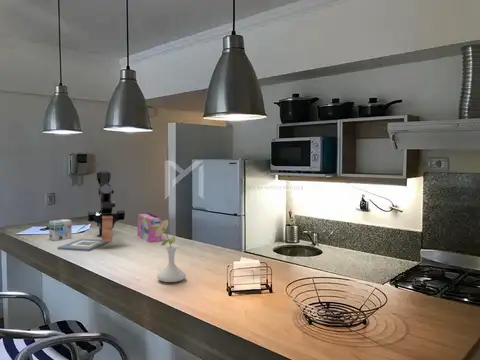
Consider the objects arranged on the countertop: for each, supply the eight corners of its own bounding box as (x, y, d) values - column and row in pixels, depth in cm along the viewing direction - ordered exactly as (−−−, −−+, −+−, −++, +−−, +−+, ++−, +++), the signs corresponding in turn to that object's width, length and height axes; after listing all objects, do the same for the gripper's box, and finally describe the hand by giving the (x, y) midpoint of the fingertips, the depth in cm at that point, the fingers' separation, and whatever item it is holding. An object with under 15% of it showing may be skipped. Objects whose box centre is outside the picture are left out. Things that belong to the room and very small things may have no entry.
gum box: (136, 234, 248) (136, 213, 247) (148, 233, 252) (148, 212, 251) (148, 242, 228) (148, 218, 227) (162, 241, 232) (162, 217, 231)
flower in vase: (172, 274, 169) (172, 215, 167) (191, 279, 162) (191, 218, 160) (147, 281, 159) (147, 219, 157) (166, 288, 152) (166, 222, 150)
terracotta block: (101, 239, 214) (102, 215, 214) (111, 239, 216) (112, 215, 215) (102, 241, 210) (102, 217, 209) (112, 241, 211) (112, 217, 211)
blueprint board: (81, 240, 231) (81, 236, 231) (110, 241, 227) (110, 238, 227) (57, 249, 209) (57, 245, 209) (89, 251, 206) (89, 246, 206)
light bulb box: (54, 241, 228) (54, 222, 227) (48, 239, 232) (48, 221, 231) (72, 238, 236) (72, 220, 236) (66, 236, 240) (66, 218, 240)
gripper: (87, 196, 212) (88, 220, 202) (124, 195, 218) (126, 218, 209) (87, 209, 219) (88, 232, 210) (123, 207, 226) (125, 230, 217)
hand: (107, 228), depth 211 cm, fingers closed on terracotta block, 5 cm apart
